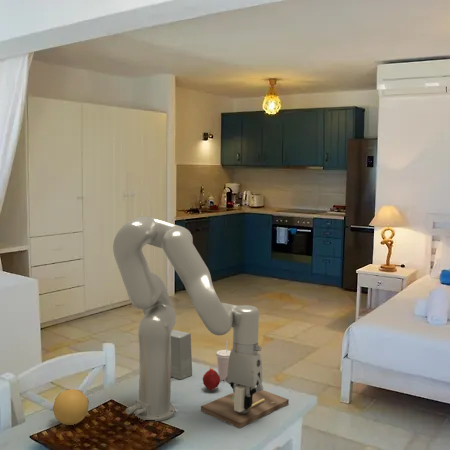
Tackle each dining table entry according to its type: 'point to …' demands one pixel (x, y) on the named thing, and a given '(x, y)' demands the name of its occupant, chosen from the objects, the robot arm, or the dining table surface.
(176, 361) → the skincare box
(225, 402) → the wooden cutting board
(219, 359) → the smoothie
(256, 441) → the dining table surface
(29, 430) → the dining table surface
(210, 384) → the onion
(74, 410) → the stress ball
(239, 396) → the cheese with knife
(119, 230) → the robot arm
